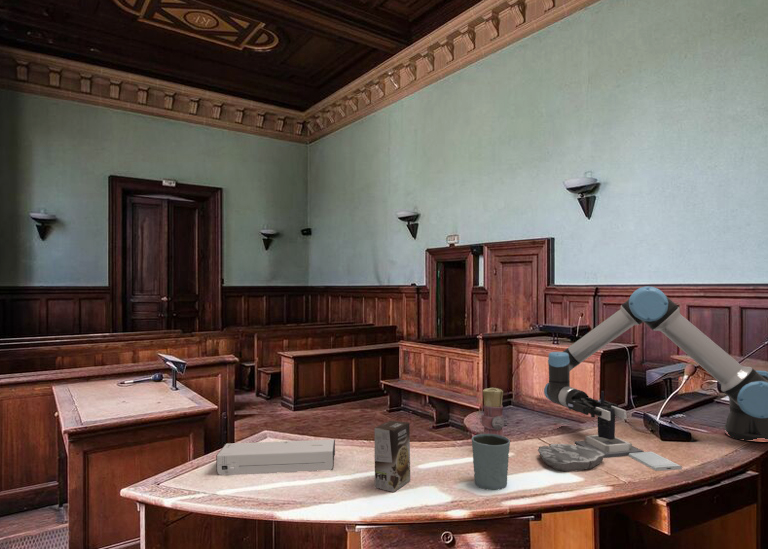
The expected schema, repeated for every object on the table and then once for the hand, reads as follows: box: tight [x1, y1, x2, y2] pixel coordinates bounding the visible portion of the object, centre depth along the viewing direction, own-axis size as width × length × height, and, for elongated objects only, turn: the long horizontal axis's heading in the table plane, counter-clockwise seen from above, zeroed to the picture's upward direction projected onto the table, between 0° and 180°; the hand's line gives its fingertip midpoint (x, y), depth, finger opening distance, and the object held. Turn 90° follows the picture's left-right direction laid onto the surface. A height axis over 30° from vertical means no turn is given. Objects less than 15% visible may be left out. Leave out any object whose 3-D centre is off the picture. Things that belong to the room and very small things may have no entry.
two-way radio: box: [596, 390, 616, 440], centre depth 158 cm, size 6×4×15 cm
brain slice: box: [537, 443, 605, 472], centre depth 147 cm, size 20×17×3 cm
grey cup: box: [471, 433, 511, 491], centre depth 132 cm, size 10×10×12 cm
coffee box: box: [374, 420, 411, 493], centre depth 133 cm, size 9×6×16 cm
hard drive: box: [628, 451, 683, 472], centre depth 145 cm, size 2×8×12 cm
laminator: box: [215, 439, 336, 476], centre depth 147 cm, size 34×12×6 cm, turn 94°
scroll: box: [479, 387, 505, 436], centre depth 158 cm, size 8×8×20 cm
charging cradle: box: [574, 434, 645, 459], centre depth 158 cm, size 15×14×3 cm
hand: (617, 415), depth 153 cm, fingers closed on two-way radio, 5 cm apart
